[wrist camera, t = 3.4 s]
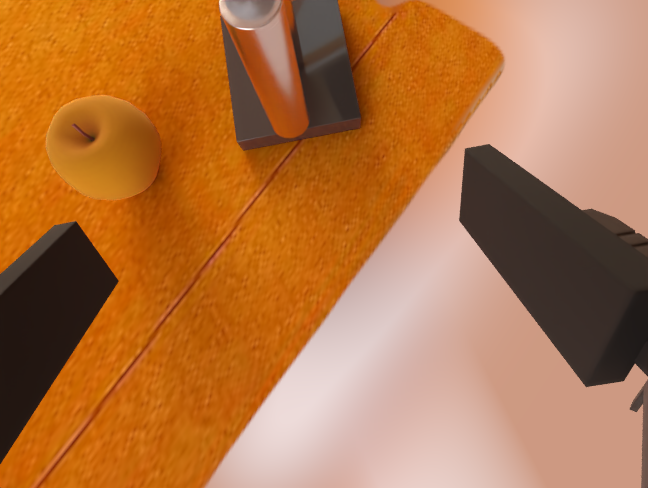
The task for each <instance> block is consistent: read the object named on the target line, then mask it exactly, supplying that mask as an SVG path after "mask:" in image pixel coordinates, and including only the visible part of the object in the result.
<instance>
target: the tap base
mask: <svg viewBox="0 0 648 488" xmlns="http://www.w3.org/2000/svg"><path fill="white" fill-rule="evenodd" d="M292 3H293V8H294V14H295V19H296V24H297V29H298V34H299V40H300V45H301V50H302V55H303V65H302V67H301V69H300V71H299V72H300V77H301V81H302V86H303V90H304V95H305V99H306V104H307V108H308V113H309V125H308V127H307V129H306V130H305V131H304V133H302V134H301V135H300V136H298V137H295V138H284V137H281V136H279V135H278V134H276V133H275V131H274V130H273V128H272V126H271V124H270V122H269V119H268V117H267V115H266V113H265V111H264V108H263V106H262V104H261V102H260V99H259V97H258V95H257V93H256V91H255V88H254V86H253V84H252V82H251V80H250V77H249V75H248V73H247V71H246V69H245V66H244V64H243V62H242V60H241V58H240V55H239V53H238V51H237V49H236V47H235V44H234V42H233V40H232V38H231V36H230V33H229V31H228V29H227V27H226V24H225V22H224V20H223V18H222V16H220V18H221V25H222V33H223V40H224V48H225V56H226V63H227V71H228V78H229V86H230V94H231V101H232V109H233V116H234V124H235V132H236V139H237V143H238V144H239V145H240V147H241V148H242V149H243V150H249V149H254V148H259V147H265V146H270V145H275V144H280V143H285V142H291V141H296V140H301V139H306V138H311V137H317V136H322V135H327V134H332V133H338V132H343V131H348V130H353V129H358V128H360V127H361V114H360V109H359V104H358V99H357V94H356V89H355V84H354V79H353V74H352V69H351V64H350V59H349V54H348V49H347V44H346V40H345V35H344V30H343V25H342V20H341V15H340V10H339V5H338V0H292Z"/></svg>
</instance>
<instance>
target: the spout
mask: <svg viewBox="0 0 648 488" xmlns="http://www.w3.org/2000/svg"><path fill="white" fill-rule="evenodd" d="M219 9H220V13H221V16H222V18H223V20H224V22H225V24H226V27H227V29H228V31H229V33H230V36H231V38H232V40H233V42H234V44H235V47H236V49H237V51H238V53H239V55H240V58H241V60H242V62H243V64H244V66H245V69H246V71H247V73H248V75H249V77H250V80H251V82H252V84H253V86H254V88H255V91H256V93H257V95H258V97H259V99H260V102H261V104H262V106H263V108H264V111H265V113H266V115H267V117H268V119H269V122H270V124H271V126H272V128H273V130H274V131H275V133H276V134H278V135H279V136H281V137H284V138H295V137H298V136H300V135H301V134H302V133H304V131H305V130H306V129H307V127H308V125H309V113H308V108H307V104H306V99H305V95H304V90H303V86H302V81H301V77H300V72H299V71H300V69H301V67H302V65H303V55H302V50H301V45H300V40H299V34H298V29H297V24H296V19H295V14H294V8H293V3H292V0H219Z"/></svg>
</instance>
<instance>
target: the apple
mask: <svg viewBox="0 0 648 488" xmlns="http://www.w3.org/2000/svg"><path fill="white" fill-rule="evenodd" d="M46 150H47V153H48V156H49V159H50V162H51V164H52V166H53V168H54V169H55V170H56V172H57V173H58V174H59V176H60V177H61V178H62V179H63V180H64V181H65V182H66V183H67V184H69V185H70V186H71V187H73V188H74V189H75V190H77V191H78V192H80V193H81V194H82V195H85V196H87V197H90V198H92V199H100V200H119V199H124V198H130V197H132V196H134V195H137V194H139V193H141V192H143V191H145V190H146V189H147V188H148V187H149V186H150V185H151V184H152V183H153V181H154V180H155V179H156V176H157V172H158V169H159V165H160V159H161V140H160V136H159V133H158V132H157V130H156V128H155V126H154V125H153V123H152V122H151V121H150V119H149V118H148V117H147V115H146V114H145V113H143V112H142V111H140V110H139V109H138V108H136V107H135V106H134V105H132V104H131V103H130V102H128V101H125V100H122V99H118V98H115V97H112V96H109V95H94V96H89V97H84V98H79V99H75V100H73V101H72V102H70V103H68V104H66V105H64V106H62V107H61V108H60V109H59V110H58V112H57V113H56V114H55V115H54V117H53V120H52V122H51V124H50V127H49V129H48V132H47V134H46Z"/></svg>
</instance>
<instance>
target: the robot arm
mask: <svg viewBox="0 0 648 488" xmlns="http://www.w3.org/2000/svg"><path fill="white" fill-rule="evenodd" d="M463 169H464V170H463V182H462V193H461V206H460V218H459V221H460V222H461V223H462V225H463V226H464V227H465V229H466V230H467V231H468V233H469V234H470V235H471V237H472V238H473V239H474V240H475V242H476V243H477V244H478V246H479V247H480V248H481V250H482V251H483V252H484V254H485V255H486V256H487V258H488V259H489V260H490V262H491V263H492V264H493V265H494V267H495V268H496V269H497V271H498V272H499V273H500V275H501V276H502V277H503V279H504V280H505V281H506V282H507V284H508V285H509V286H510V288H511V289H512V290H513V292H514V293H515V294H516V296H517V297H518V298H519V300H520V301H521V302H522V304H523V305H524V306H525V307H526V309H527V310H528V311H529V313H530V314H531V315H532V317H533V318H534V319H535V321H536V322H537V323H538V325H539V326H540V327H541V328H542V330H543V331H544V332H545V334H546V335H547V336H548V338H549V339H550V340H551V342H552V343H553V344H554V346H555V347H556V348H557V350H558V351H559V352H560V353H561V355H562V356H563V357H564V359H565V360H566V361H567V363H568V364H569V365H570V366H571V368H572V369H573V371H574V372H575V373H576V374H577V376H578V377H579V378H580V380H581V381H582V382H583V384H584V385H585V386H586V387H589V386H595V385H602V384H608V383H614V382H621V381H624V380H625V378H626V377H627V375H628V373H629V372H630V370H631V369H632V367H633V365H634V364H636V365H637V366H638V367H639V368H640V369H641V370H642V371H643V372H644V373H645V374H646V375H647V376H648V239H647V238H645V237H644V236H642V235H641V234H639V233H637V234H636V233H635V230H633V229H632V228H630V227H629V226H627V225H626V224H624V223H623V222H621V221H620V220H618V219H617V218H615V217H612V216H609V215H606V214H604V213H601V212H599V211H596V210H593V209H588V210H581V209H579V208H578V207H576V206H575V205H573V204H572V203H571V202H569V201H568V200H567V199H565V198H564V197H562V196H561V195H560V194H558V193H557V192H555V191H554V190H553V189H551V188H550V187H548V186H547V185H545V184H544V183H543V182H541V181H540V180H539V179H537V178H536V177H534V176H533V175H532V174H530V173H529V172H527V171H526V170H525V169H523V168H522V167H520V166H519V165H518V164H516V163H515V162H513V161H512V160H510V159H509V158H508V157H506V156H505V155H504V154H502V153H501V152H499V151H498V150H497V149H495V148H494V147H492V146H491V145H490V144H488V145H482V146H477V147H471V148H466V149H465V156H464V168H463ZM117 283H118V279H117V278H116V277H115V275H114V274H113V272H112V271H111V270H110V268H109V267H108V265H107V264H106V263H105V261H104V260H103V258H102V257H101V256H100V254H99V253H98V251H97V250H96V249H95V247H94V246H93V244H92V243H91V242H90V240H89V239H88V237H87V236H86V235H85V233H84V232H83V230H82V229H81V228H80V226H79V225H78V223H77V222H76V221H75V222H70V223H65V224H59V225H54V226H53V227H52V228H51V229H50V230H49V231H48V232H47V233H46V234H44V235H43V236H42V237H41V238H40V239H39V240H38V241H37V242H36V243H35V244H33V245H32V246H31V247H30V248H29V249H28V250H27V251H26V252H25V253H23V254H22V255H21V256H20V257H19V258H18V259H17V260H16V261H15V262H14V263H12V264H11V265H10V266H9V267H8V268H7V269H6V270H5V271H4V272H2V273H1V274H0V464H1V462H2V461H3V459H4V458H5V456H6V454H7V453H8V451H9V450H10V448H11V447H12V445H13V444H14V442H15V441H16V439H17V438H18V436H19V434H20V433H21V431H22V430H23V428H24V427H25V425H26V424H27V422H28V421H29V419H30V417H31V416H32V414H33V413H34V411H35V410H36V408H37V407H38V405H39V404H40V402H41V400H42V399H43V397H44V396H45V394H46V393H47V391H48V390H49V388H50V387H51V385H52V383H53V382H54V380H55V379H56V377H57V376H58V374H59V373H60V371H61V370H62V368H63V366H64V365H65V363H66V362H67V360H68V359H69V357H70V356H71V354H72V353H73V351H74V349H75V348H76V346H77V345H78V343H79V342H80V340H81V339H82V337H83V336H84V334H85V332H86V331H87V329H88V328H89V326H90V325H91V323H92V322H93V320H94V319H95V317H96V315H97V314H98V312H99V311H100V309H101V308H102V306H103V305H104V303H105V302H106V300H107V298H108V297H109V295H110V294H111V292H112V291H113V289H114V288H115V286H116V285H117ZM642 404H643V441H642V442H643V443H642V487H641V488H648V380H647V382H646V383H645V384H644V386H643V387H642V389H641V390H640V392H639V393H638V394H637V396H636V397H635V399H634V400H633V402H632V404H631V407H630V410H633V411H635V412H637V411H638V409H639V408H640V407H641V405H642Z"/></svg>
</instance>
